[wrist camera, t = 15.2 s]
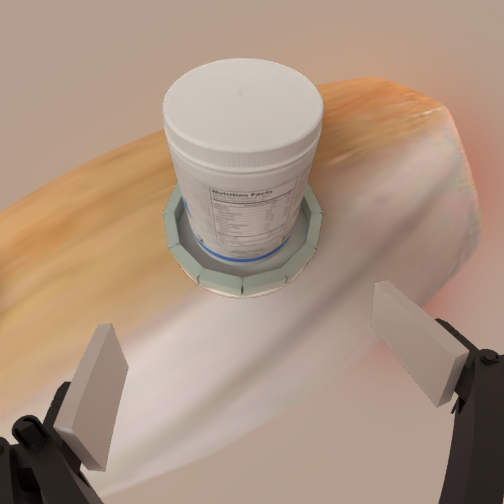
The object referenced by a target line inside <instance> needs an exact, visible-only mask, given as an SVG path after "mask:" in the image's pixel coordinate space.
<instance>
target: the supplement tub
mask: <svg viewBox="0 0 504 504" xmlns="http://www.w3.org/2000/svg"><path fill="white" fill-rule="evenodd" d="M162 109H163V116H164V130H165V134H166V139H167V143H168V147H169V151H170V155H171V158H172V162H173V166H174V169H175V173H176V177H177V180H178V184H179V188H180V191H181V195H182V198H183V202H184V205H185V209H186V212H187V216H188V219H189V223H190V226H191V230H192V232H193V235H194V237H195V239H196V241H197V243H198V245H199V246H200V247H201V248H202V250H203V251H205V252H206V253H207V254H208V255H209V256H211V257H212V258H214V259H216V260H218V261H220V262H222V263H225V264H229V265H234V266H250V265H255V264H259V263H262V262H264V261H267V260H269V259H270V258H272V257H274V256H275V255H276V254H278V253H279V252H280V251H281V250H282V249H283V248H284V246H285V245H286V244H287V242H288V240H289V239H290V236H291V234H292V231H293V228H294V225H295V221H296V218H297V215H298V212H299V208H300V205H301V202H302V198H303V195H304V191H305V188H306V185H307V181H308V178H309V174H310V171H311V167H312V164H313V160H314V157H315V153H316V149H317V145H318V142H319V138H320V134H321V130H322V116H323V111H324V105H323V100H322V97H321V95H320V93H319V91H318V89H317V88H316V87H315V85H314V84H313V83H312V82H311V81H310V80H309V79H307V78H306V77H305V76H304V75H302V74H301V73H299V72H297V71H296V70H294V69H292V68H289V67H287V66H285V65H282V64H279V63H275V62H272V61H268V60H262V59H252V58H232V59H224V60H219V61H214V62H210V63H207V64H204V65H202V66H199V67H197V68H194V69H192V70H190V71H189V72H187V73H185V74H184V75H182V76H181V77H180V78H179V79H178V80H176V81H175V82H174V83H173V84H172V86H171V87H170V88H169V90H168V91H167V93H166V95H165V97H164V101H163V108H162Z"/></svg>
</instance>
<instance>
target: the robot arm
mask: <svg viewBox="0 0 504 504" xmlns="http://www.w3.org/2000/svg"><path fill="white" fill-rule="evenodd" d="M371 328H372V329H373V331H374V332H375V333H376V334H377V335H378V337H379V338H380V339H381V340H382V341H383V343H384V344H385V345H386V346H387V347H388V348H389V350H390V351H391V352H392V353H393V354H394V355H395V357H396V358H397V359H398V361H399V362H400V363H401V364H402V365H403V367H404V368H405V369H406V370H407V371H408V373H409V374H410V375H411V376H412V378H413V379H414V380H415V381H416V383H417V384H418V385H419V386H420V387H421V389H422V390H423V391H424V393H425V394H426V395H427V396H428V398H429V399H430V400H431V401H432V403H433V404H434V405H435V406H436V407H439V406H441V405H443V404H445V403H447V402H449V401H450V400H451V397H452V395H453V393H454V391H455V392H456V393H457V394H458V398H457V400H456V403H455V405H454V407H453V409H452V412H451V413H452V414H453V413H454V411H455V409H456V412H455V420H454V429H453V437H452V442H451V449H450V455H449V460H448V465H447V470H446V475H445V480H444V484H443V488H442V492H441V496H440V500H439V504H503V497H504V355H499V354H498V353H496V352H494V351H493V350H489V349H482V350H479V349H477V348H476V347H475V346H474V345H473V344H472V343H471V342H470V341H468V340H467V339H466V338H465V337H464V336H463V335H460V333H459V332H458V331H457V330H455V329H454V328H453V327H452V326H451V325H450V324H449V323H448V322H445V321H443V320H441V319H439V318H437V319H433V318H432V317H431V316H430V315H429V314H427V313H426V312H425V311H424V310H423V309H422V308H420V307H419V306H418V305H417V304H416V303H415V302H413V301H412V300H411V299H410V298H409V297H407V296H406V295H405V294H404V293H403V292H401V291H400V290H399V289H398V288H397V287H395V286H394V285H393V284H392V283H390V282H389V281H388V280H383V281H379V282H375V284H374V297H373V308H372V318H371ZM127 371H128V364H127V362H126V359H125V357H124V354H123V352H122V349H121V347H120V344H119V342H118V339H117V336H116V333H115V331H114V328H113V325H112V324H101V325H98V326H97V328H96V330H95V332H94V334H93V336H92V338H91V340H90V342H89V345H88V347H87V349H86V351H85V353H84V355H83V357H82V359H81V362H80V364H79V366H78V368H77V370H76V373H75V375H74V377H73V379H72V382H64V383H63V384H62V385H61V386H60V387H59V388H58V389H57V392H56V394H55V396H54V400H53V401H52V403H51V407H49V410H48V412H47V414H46V417H45V419H44V422H43V424H42V423H41V422H40V421H39V419H38V418H37V417H35V416H33V415H26V416H23V417H21V418H19V419H18V420H17V421H16V422H15V423H14V425H13V427H12V435H13V436H14V438H15V439H16V440H17V441H18V442H19V444H14V445H10V444H9V442H8V441H7V440H6V439H5V438H3V437H0V504H104V503H103V502H102V501H101V499H100V498H99V497H98V495H97V494H96V492H95V491H94V489H93V488H92V486H91V485H90V483H89V482H88V480H87V479H86V477H85V476H84V474H83V473H82V472H81V471H80V466H81V462H82V464H83V465H84V466H85V467H86V468H87V469H88V470H93V471H104V472H105V470H106V464H107V459H108V454H109V449H110V444H111V439H112V434H113V429H114V425H115V420H116V416H117V411H118V407H119V403H120V399H121V395H122V391H123V387H124V383H125V379H126V375H127Z"/></svg>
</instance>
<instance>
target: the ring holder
mask: <svg viewBox="0 0 504 504" xmlns="http://www.w3.org/2000/svg"><path fill="white" fill-rule="evenodd" d="M322 215H323V214H322V210H321V208H320V206H319V204H318V201H317V199H316V197H315V195H314V193H313V191H312V189H311V186H310V184H309V182H308V183H307V185H306V188H305V191H304V195H303V198H302V202H301V205H300V208H299V212H298V215H297V218H296V221H295V225H294V228H293V231H292V234H291V236H290V239H289V240H288V242H287V244H286V245H285V246H284V248H283V249H282V250H281V251H280V252H279V253H278V254H276V255H275V256H274V257H272V258H270V259H269V260H267V261H264V262H262V263H259V264H255V265H250V266H234V265H229V264H225V263H222V262H220V261H218V260H216V259H214V258H212V257H211V256H209V255H208V254H207V253H206V252H205V251H203V250H202V248H201V247H200V246H199V245H198V243H197V241H196V239H195V237H194V235H193V232H192V230H191V226H190V223H189V219H188V216H187V212H186V209H185V205H184V202H183V198H182V195H181V191H180V188H179V184H178V182H177V184H176V186H175V188H174V190H173V193H172V195H171V197H170V199H169V201H168V203H167V205H166V207H165V210H164V214H163V217H164V223H165V230H166V236H167V243H168V248H169V250H170V252H171V254H172V256H173V258H174V259H175V260H176V261H177V263H178V264H179V265H180V266H181V268H182V269H183V271H184V272H185V273H186V274H187V275H188V277H190V278H191V279H192V280H193V281H194V282H195V283H196V284H198V285H199V286H201V287H202V288H204V289H206V290H208V291H210V292H212V293H215V294H218V295H221V296H225V297H231V298H255V297H260V296H264V295H267V294H270V293H273V292H275V291H277V290H279V289H281V288H283V287H284V286H286V285H287V284H289V283H290V282H291V281H293V280H294V279H295V278H296V277H297V276H298V275H299V274H300V272H301V271H302V270H303V269H304V267H305V265H306V264H307V263H308V262H309V261H310V260H311V259H312V257H313V255H314V253H315V251H316V249H317V244H318V239H319V233H320V227H321V221H322Z"/></svg>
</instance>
